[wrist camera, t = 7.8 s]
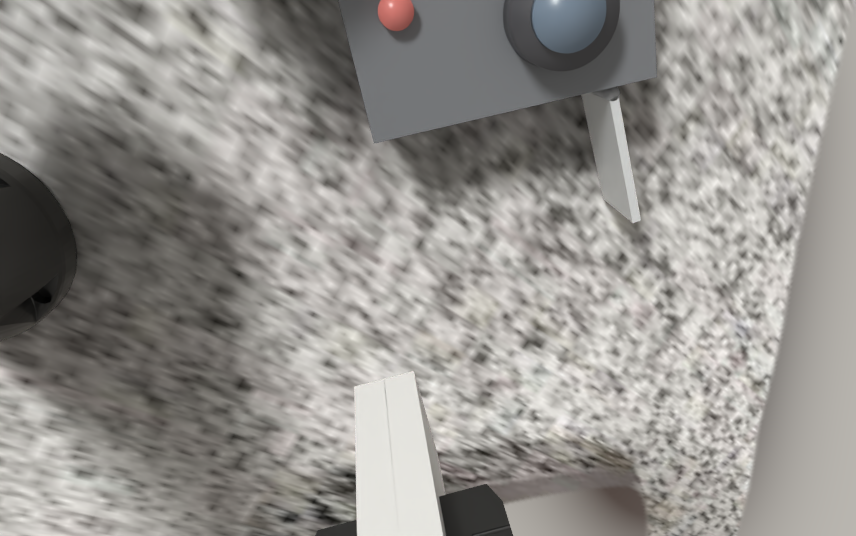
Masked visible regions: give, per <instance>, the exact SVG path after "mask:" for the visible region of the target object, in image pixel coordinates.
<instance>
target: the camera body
mask: <svg viewBox="0 0 856 536" xmlns="http://www.w3.org/2000/svg"><path fill="white" fill-rule="evenodd" d="M338 2H339V6H340V10H341V14H342V18H343V22H344V26H345V30H346V34H347V38H348V42H349V46H350V50H351V54H352V57H353V61H354V65H355V69H356V73H357V77H358V81H359V85H360V89H361V93H362V97H363V101H364V105H365V109H366V113H367V117H368V121H369V125H370V129H371V133H372V137H373V141H374V143H378V142H382V141H386V140H391V139H395V138H399V137H403V136H408V135H412V134H416V133H421V132H425V131H429V130H433V129H438V128H442V127H446V126H450V125H455V124H459V123H463V122H467V121H472V120H476V119H480V118H484V117H489V116H493V115H497V114H502V113H506V112H510V111H514V110H519V109H523V108H527V107H531V106H536V105H540V104H544V103H548V102H553V101H557V100H561V99H565V98H570V97H574V96H578V95H583V94H587V93H591V92H595V91H600V90H604V89H608V88H612V87H617V86H621V85H625V84H629V83H634V82H638V81H642V80H647V79H651V78H655V77H657V68H656V42H655V15H654V0H338Z"/></svg>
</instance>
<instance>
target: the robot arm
mask: <svg viewBox="0 0 856 536" xmlns="http://www.w3.org/2000/svg"><path fill="white" fill-rule="evenodd" d="M76 261H77V254H76V244H75V239H74V235H73V232H72V229H71V226H70V224H69V221H68V219H67V217H66V215H65V213H64V212H63V210H62V208H61V207H60V205H59V203H58V202H57V201H56V199H55V198H54V197H53V195H52V194H51V193H50V192H49V190H48V189H47V188H46V187H45V186H44V185H43V184H42V183H41V182H40V181H39V180H38V179H37V178H36V177H35V176H33V175H32V174H31V173H30V172H29V171H27V170H26V169H25V168H23V167H22V166H21V165H19V164H18V163H16V162H15V161H13V160H11V159H10V158H8V157H6V156H4V155H3V154H1V153H0V341H2V340H5V339H7V338H10V337H13V336H16V335H18V334H20V333H22V332H24V331H26V330H28V329H29V328H31V327H33V326H34V325H36V324H37V323H38V322H40V321H41V320H42V319H43V318H44V317H45V316H46V315H47V314H49V313H50V312H51V311H52V310H53V309H54V308H55V307H56V306H57V305H58V304H59V303H60V301H61V300H62V299H63V298H64V296H65V295H66V293H67V292H68V290H69V288H70V286H71V284H72V281H73V278H74V275H75V270H76ZM354 393H355V449H356V505H357V520H355V521H351V522H347V523H344V524H340V525H336V526H332V527H329V528H325V529H321V530H318V531H317V533H316V535H315V536H513V534H512V531H511V528H510V524H509V521H508V518H507V514H506V511H505V508H504V505H503V501H502V500H501V499H500V498H499V497H498V496H497V495H496V494H495V493H494V492H493V490H492V489H491V488H490V487H489V486H488V485H487V484H484V485H481V486H477V487H473V488H469V489H466V490H462V491H458V492H454V493H451V494H447V495H446V494H445V489H444V484H443V479H442V474H441V469H440V464H439V459H438V454H437V450H436V447H435V443H434V440H433V436H432V433H431V429H430V426H429V422H428V419H427V415H426V412H425V408H424V405H423V401H422V398H421V394H420V391H419V387H418V384H417V380H416V377H415V373H414V371H412V372H408V373H404V374H400V375H397V376H393V377H389V378H385V379H381V380H378V381H374V382H370V383H366V384H362V385H359V386H355V387H354Z"/></svg>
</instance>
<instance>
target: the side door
mask: <svg viewBox="0 0 856 536" xmlns="http://www.w3.org/2000/svg"><path fill="white" fill-rule="evenodd" d="M619 96H620V90H619V89H618V88H617V87H612V88H608V89H604V90H600V91H595V92H591V93H587V94H583V95H582V100H583V105H584V110H585V115H586V119H587V124H588V129H589V134H590V139H591V143H592V148H593V153H594V158H595V163H596V167H597V172H598V177H599V182H600V187H601V191H602V196H603V199H604V200H605V201H606V202H607V203H609V204H610V205H611V206H612V207H614V208H615V209H616V210H617V211H618V212H620V213H621V214H622V215H623V216H625V217H626V218H627V219H628V220H629V221H631V222H632V223H635V222H638V221H641V218H640V212H639V207H638V201H637V196H636V190H635V185H634V179H633V174H632V168H631V163H630V157H629V151H628V146H627V140H626V135H625V129H624V124H623V118H622V113H621V107H620V102H619Z"/></svg>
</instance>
